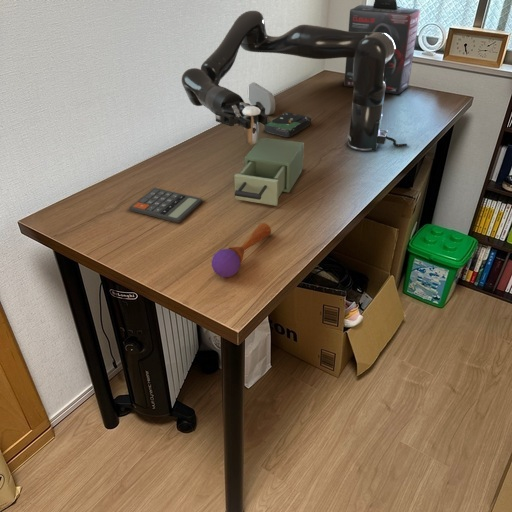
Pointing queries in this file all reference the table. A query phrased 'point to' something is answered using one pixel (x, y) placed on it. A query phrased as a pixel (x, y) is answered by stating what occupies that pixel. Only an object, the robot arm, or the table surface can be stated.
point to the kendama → (237, 253)
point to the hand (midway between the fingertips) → (257, 123)
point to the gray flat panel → (261, 97)
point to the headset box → (398, 28)
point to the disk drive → (287, 124)
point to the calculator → (166, 205)
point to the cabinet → (279, 157)
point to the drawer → (261, 182)
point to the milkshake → (252, 124)
